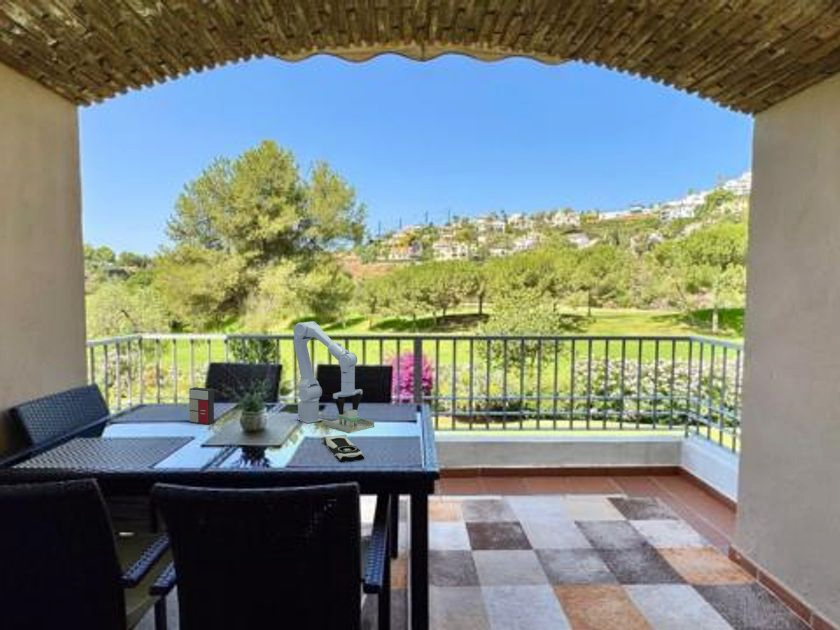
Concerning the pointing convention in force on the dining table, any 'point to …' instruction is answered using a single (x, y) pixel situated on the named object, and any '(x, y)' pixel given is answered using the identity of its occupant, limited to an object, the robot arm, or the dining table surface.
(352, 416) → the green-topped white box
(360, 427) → the chassis
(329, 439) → the graphics card
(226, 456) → the dining table surface
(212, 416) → the toy cabinet
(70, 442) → the dining table surface
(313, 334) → the robot arm
